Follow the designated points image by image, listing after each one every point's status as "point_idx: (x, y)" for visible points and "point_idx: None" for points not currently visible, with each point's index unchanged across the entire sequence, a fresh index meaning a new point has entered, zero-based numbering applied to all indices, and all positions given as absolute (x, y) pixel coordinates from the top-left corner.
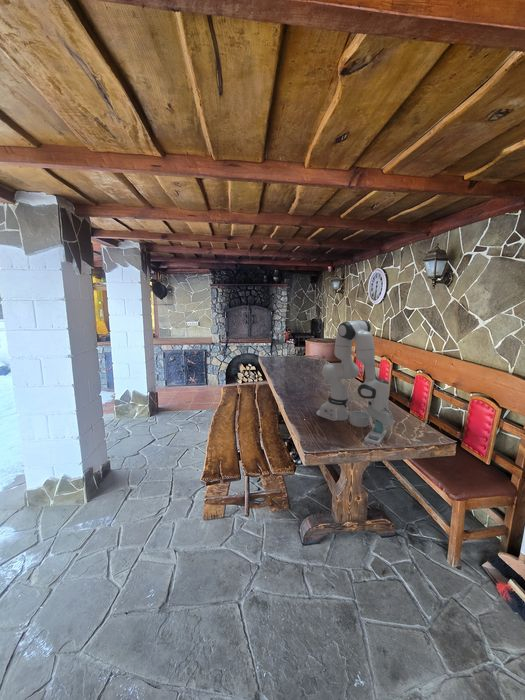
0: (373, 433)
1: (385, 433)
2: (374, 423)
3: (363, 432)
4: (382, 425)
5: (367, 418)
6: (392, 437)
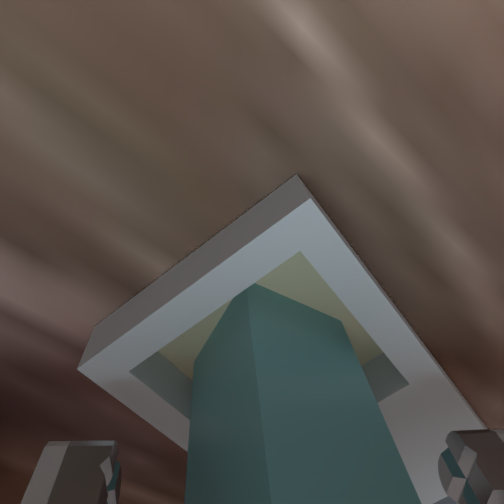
0: None
1: (363, 265)
2: (115, 479)
3: (170, 492)
4: (416, 500)
5: None
6: (491, 191)
